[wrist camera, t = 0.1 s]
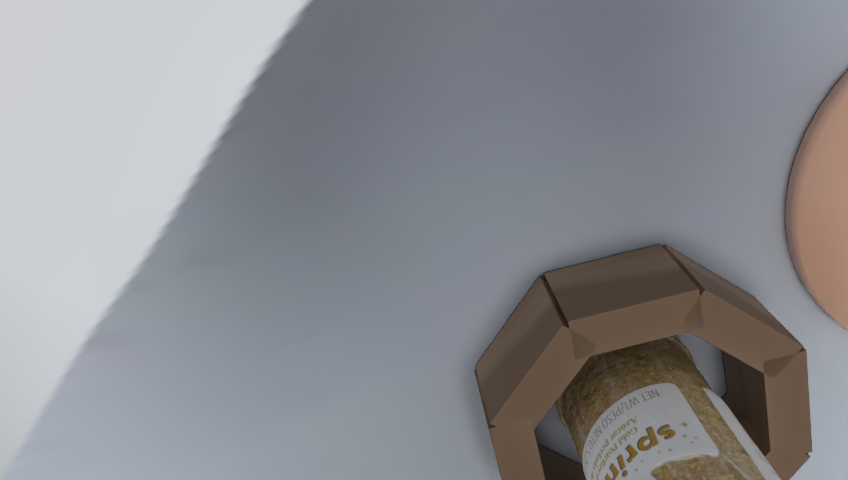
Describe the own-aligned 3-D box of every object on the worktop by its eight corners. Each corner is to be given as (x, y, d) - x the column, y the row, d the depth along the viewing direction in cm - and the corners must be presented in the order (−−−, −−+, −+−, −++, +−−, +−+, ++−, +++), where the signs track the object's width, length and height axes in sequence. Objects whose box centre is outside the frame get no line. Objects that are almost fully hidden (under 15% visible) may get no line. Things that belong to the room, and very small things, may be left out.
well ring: (769, 458, 27) (816, 522, 24) (513, 521, 27) (530, 590, 25) (749, 221, 24) (801, 263, 21) (455, 295, 24) (467, 346, 21)
